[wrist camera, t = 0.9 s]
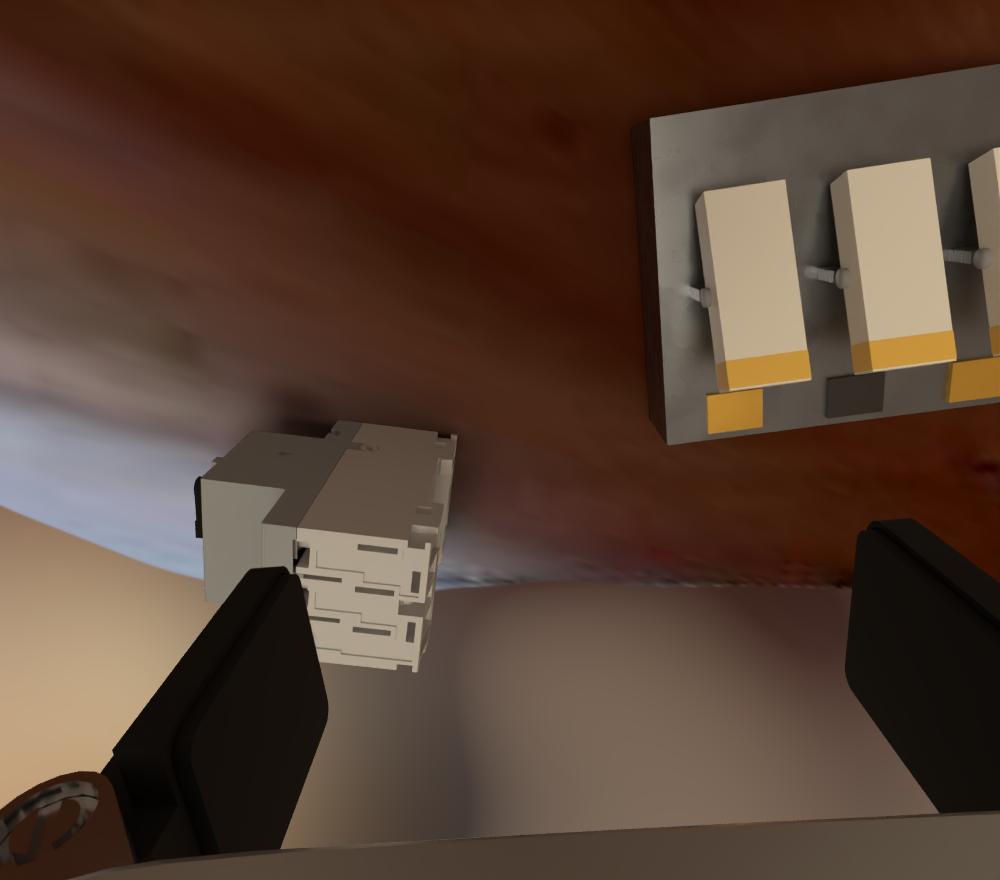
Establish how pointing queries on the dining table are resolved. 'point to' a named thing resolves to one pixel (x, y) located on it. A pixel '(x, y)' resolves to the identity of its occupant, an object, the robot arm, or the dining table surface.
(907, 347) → the rocker
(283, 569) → the robot arm
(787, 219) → the block
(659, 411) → the console
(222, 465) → the circuit breaker
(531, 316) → the dining table surface
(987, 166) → the block
